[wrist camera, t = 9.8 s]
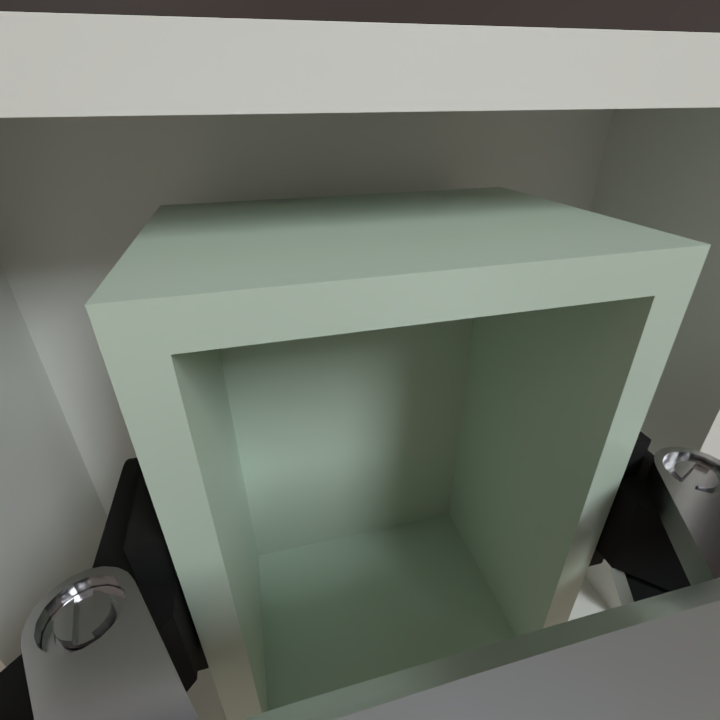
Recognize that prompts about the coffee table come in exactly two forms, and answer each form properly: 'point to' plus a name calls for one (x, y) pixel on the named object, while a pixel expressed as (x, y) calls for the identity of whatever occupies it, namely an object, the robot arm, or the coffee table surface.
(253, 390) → the small crate
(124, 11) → the coffee table surface
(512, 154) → the big crate
